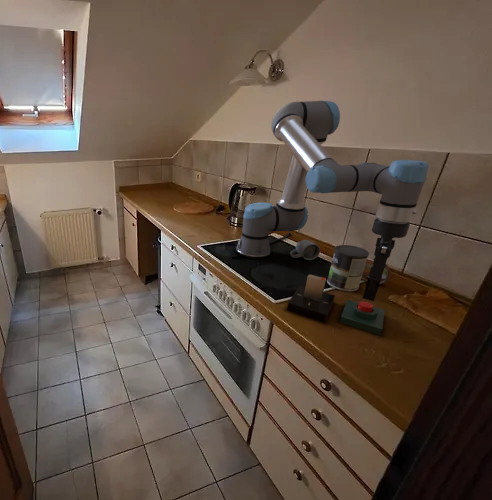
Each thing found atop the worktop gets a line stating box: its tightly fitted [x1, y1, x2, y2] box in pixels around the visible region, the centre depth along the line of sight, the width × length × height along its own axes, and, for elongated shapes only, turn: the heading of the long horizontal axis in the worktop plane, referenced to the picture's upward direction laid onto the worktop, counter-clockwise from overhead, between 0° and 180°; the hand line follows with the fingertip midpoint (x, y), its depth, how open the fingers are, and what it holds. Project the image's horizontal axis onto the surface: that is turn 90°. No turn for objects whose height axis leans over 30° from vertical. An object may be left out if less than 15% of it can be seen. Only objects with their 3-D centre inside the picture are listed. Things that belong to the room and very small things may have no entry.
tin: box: [361, 257, 392, 285], centre depth 114 cm, size 15×3×8 cm, turn 24°
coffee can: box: [326, 244, 370, 292], centre depth 109 cm, size 10×10×14 cm
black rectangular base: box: [286, 285, 336, 323], centre depth 99 cm, size 14×11×3 cm
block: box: [339, 299, 385, 336], centre depth 92 cm, size 12×10×4 cm
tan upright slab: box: [303, 274, 327, 302], centre depth 97 cm, size 5×2×8 cm, turn 50°
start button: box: [358, 300, 374, 312], centre depth 91 cm, size 4×4×2 cm
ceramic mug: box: [289, 239, 321, 261], centre depth 134 cm, size 11×8×8 cm
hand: (369, 292), depth 89 cm, fingers open, 9 cm apart
